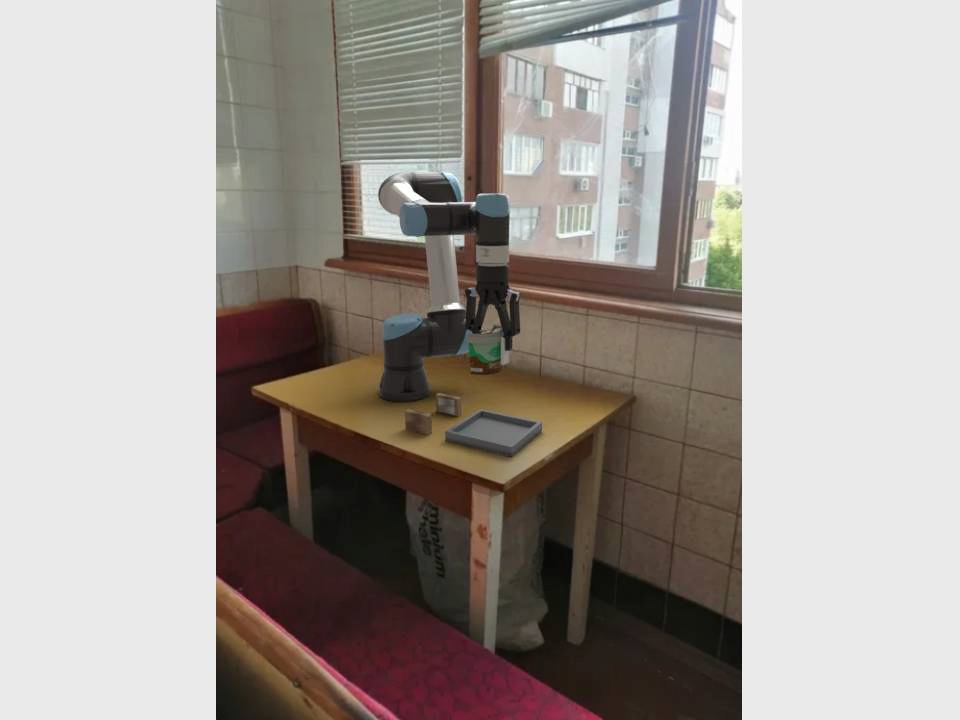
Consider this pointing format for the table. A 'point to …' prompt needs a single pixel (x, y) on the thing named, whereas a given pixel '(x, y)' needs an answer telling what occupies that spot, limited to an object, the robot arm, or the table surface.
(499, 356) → the food container
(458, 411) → the brown rectangular blocks
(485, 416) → the tray
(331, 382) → the table surface
